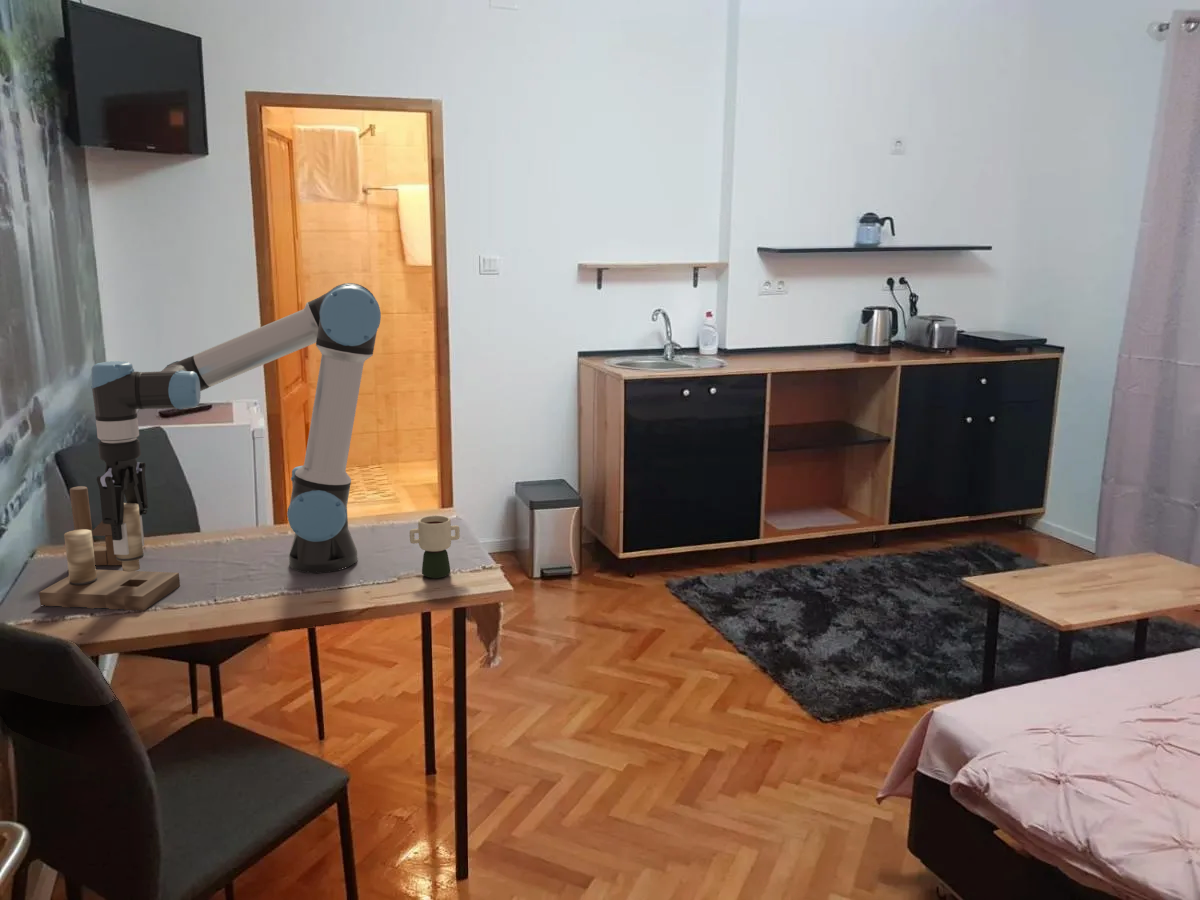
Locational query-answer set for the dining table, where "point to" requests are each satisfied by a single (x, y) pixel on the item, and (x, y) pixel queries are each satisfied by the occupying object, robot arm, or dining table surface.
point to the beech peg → (132, 538)
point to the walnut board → (104, 581)
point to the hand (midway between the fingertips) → (129, 549)
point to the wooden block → (84, 522)
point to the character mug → (435, 544)
